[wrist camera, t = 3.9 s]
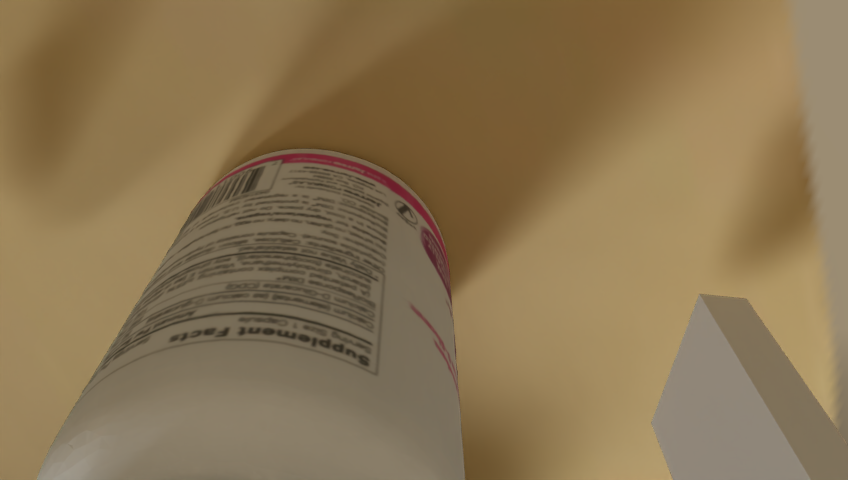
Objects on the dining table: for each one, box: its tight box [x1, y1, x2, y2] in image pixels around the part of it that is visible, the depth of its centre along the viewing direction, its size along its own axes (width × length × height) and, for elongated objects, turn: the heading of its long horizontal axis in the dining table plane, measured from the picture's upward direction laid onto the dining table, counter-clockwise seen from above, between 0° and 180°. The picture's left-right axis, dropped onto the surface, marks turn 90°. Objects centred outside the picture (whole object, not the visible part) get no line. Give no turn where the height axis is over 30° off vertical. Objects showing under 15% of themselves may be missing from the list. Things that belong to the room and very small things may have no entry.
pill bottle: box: [37, 149, 465, 480], centre depth 9 cm, size 5×5×8 cm
